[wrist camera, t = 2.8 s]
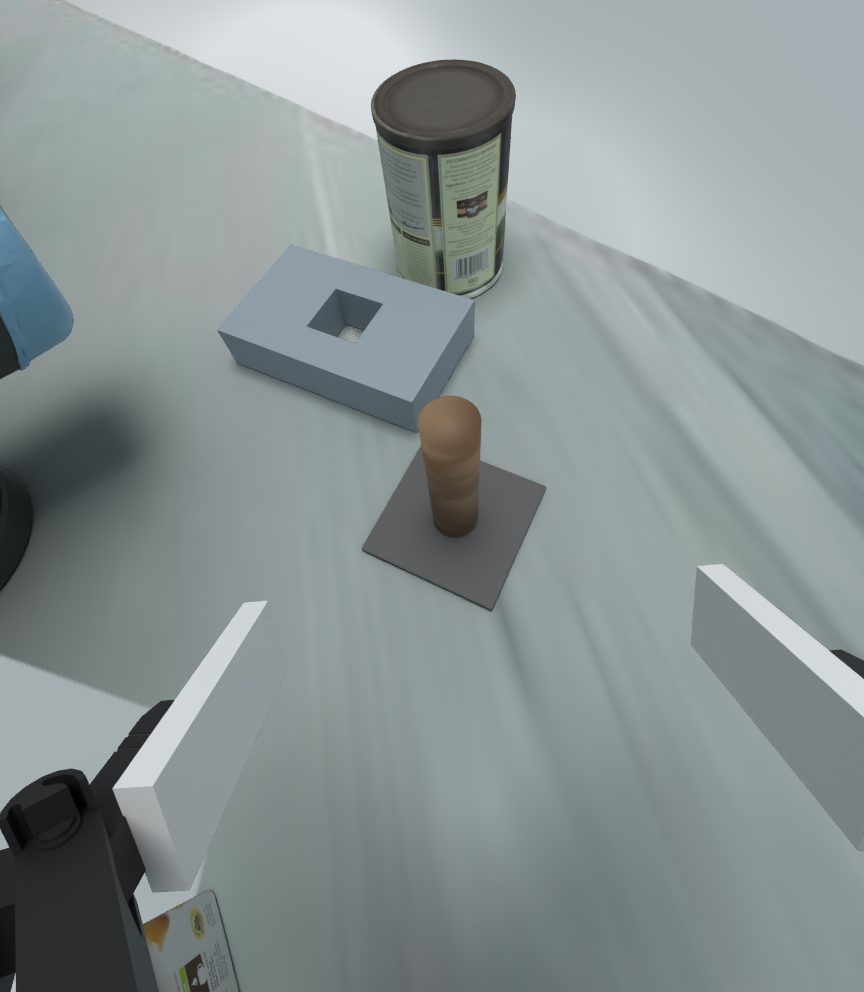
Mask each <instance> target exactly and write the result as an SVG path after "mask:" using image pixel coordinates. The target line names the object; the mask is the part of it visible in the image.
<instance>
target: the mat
mask: <svg viewBox="0 0 864 992" xmlns="http://www.w3.org/2000/svg"><path fill="white" fill-rule="evenodd" d="M545 489H546V486H544V485H541V484H538V483H536V482H533V481H531V480H528V479H526V478H523V477H521V476H518V475H515V474H513V473H510V472H508V471H505V470H503V469H500V468H497V467H495V466H492V465H490V464H487V463H485V462H482V461H480V471H479V498H478V520H477V524H476V526H475V528H474V529H473V530H472V531H471V532H470V533H469V534H467V535H466V536H463V537H459V538H451V537H448V536H445V535H443V534H442V533H440V532H439V531H438V529H437V528H436V526H435V524H434V520H433V514H432V508H431V502H430V496H429V490H428V483H427V477H426V471H425V465H424V459H423V453H422V447H420V449H419V450H418V452H417V454H416V455H415V457H414V459H413V461H412V462H411V464H410V466H409V468H408V469H407V471H406V473H405V474H404V476H403V478H402V480H401V481H400V483H399V485H398V487H397V488H396V490H395V492H394V493H393V495H392V497H391V499H390V500H389V502H388V504H387V506H386V507H385V509H384V511H383V512H382V514H381V516H380V518H379V519H378V521H377V523H376V524H375V526H374V528H373V530H372V531H371V533H370V535H369V537H368V538H367V540H366V542H365V543H364V545H363V547H362V551H364V552H367V553H369V554H371V555H373V556H375V557H377V558H379V559H382V560H384V561H386V562H388V563H390V564H392V565H394V566H397V567H399V568H401V569H403V570H405V571H407V572H409V573H411V574H414V575H416V576H418V577H420V578H422V579H424V580H426V581H429V582H431V583H433V584H435V585H437V586H439V587H441V588H443V589H446V590H448V591H450V592H452V593H454V594H456V595H458V596H461V597H463V598H465V599H467V600H469V601H471V602H473V603H476V604H478V605H480V606H482V607H484V608H486V609H488V610H490V611H492V609H493V606H494V604H495V602H496V600H497V597H498V595H499V593H500V591H501V588H502V586H503V584H504V582H505V579H506V577H507V575H508V573H509V570H510V568H511V566H512V564H513V561H514V559H515V557H516V555H517V552H518V550H519V548H520V546H521V543H522V541H523V539H524V537H525V534H526V532H527V530H528V528H529V525H530V523H531V521H532V519H533V516H534V514H535V512H536V510H537V507H538V505H539V503H540V501H541V498H542V496H543V494H544V492H545Z"/></svg>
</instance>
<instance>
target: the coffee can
mask: <svg viewBox="0 0 864 992" xmlns="http://www.w3.org/2000/svg"><path fill="white" fill-rule="evenodd" d="M515 98H516V94H515V89H514V86H513V84H512V82H511V81H510V79H509V78H508V77H507V76H506V75H505V74H503V73H502V72H501V71H499V70H497V69H495V68H493V67H491V66H489V65H485V64H483V63H479V62H474V61H467V60H438V61H432V62H426V63H422V64H418V65H415V66H412V67H409V68H407V69H404V70H402V71H400V72H398V73H396V74H394V75H393V76H391V77H390V78H388V79H387V80H385V81H384V82H383V83H382V84H381V85H380V86H379V87H378V89H377V90H376V91H375V93H374V95H373V98H372V101H371V111H372V116H373V120H374V123H375V125H376V130H377V137H378V144H379V150H380V156H381V163H382V169H383V175H384V181H385V188H386V194H387V201H388V207H389V213H390V219H391V226H392V232H393V238H394V245H395V251H396V258H397V271H398V275H399V277H400V278H403V279H406V280H409V281H413V282H416V283H419V284H423V285H426V286H429V287H432V288H436V289H439V290H442V291H446V292H449V293H452V294H455V295H459V296H462V297H465V298H469V299H470V298H473V297H476V296H478V295H480V294H482V293H483V292H485V291H486V290H488V289H489V288H490V287H491V286H493V285H494V284H495V282H496V281H497V279H498V278H499V276H500V274H501V272H502V269H503V246H504V230H505V215H506V199H507V183H508V171H509V154H510V139H511V123H512V114H513V111H514V107H515Z"/></svg>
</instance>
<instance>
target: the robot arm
mask: <svg viewBox="0 0 864 992" xmlns="http://www.w3.org/2000/svg"><path fill="white" fill-rule="evenodd" d="M73 322H74V320H73V314H72V310H71V308H70V306H69V304H68V303H67V301H66V300H65V298H64V297H63V295H62V294H61V292H60V291H59V289H58V288H57V286H56V285H55V283H54V282H53V280H52V279H51V278H50V276H49V275H48V273H47V272H46V270H45V269H44V267H43V266H42V265H41V263H40V262H39V260H38V259H37V257H36V256H35V254H34V253H33V252H32V250H31V249H30V247H29V246H28V244H27V243H26V241H25V240H24V239H23V237H22V236H21V234H20V233H19V231H18V230H17V229H16V227H15V226H14V224H13V223H12V221H11V220H10V219H9V217H8V216H7V214H6V213H5V212H4V210H3V209H2V207H1V206H0V379H1V378H3V377H5V376H7V375H9V374H11V373H13V372H15V371H17V370H18V369H19V370H24V369H26V367H28V366H29V364H30V361H31V360H33V359H35V358H36V357H38V356H39V355H41V354H43V353H44V352H46V351H48V350H49V349H51V348H53V347H54V346H56V345H58V344H59V343H61V342H63V341H64V340H65V339H66V338H67V337H68V336H69V334H70V333H71V330H72V326H73ZM31 521H32V508H31V502H30V498H29V495H28V492H27V490H26V488H25V487H24V485H23V484H22V482H21V481H20V480H19V479H18V478H17V477H16V476H15V475H14V474H13V473H11V472H10V471H8V470H6V469H5V468H3V467H1V466H0V588H1V587H2V586H3V585H4V583H5V582H6V581H7V579H8V578H9V577H10V575H11V574H12V572H13V571H14V569H15V567H16V565H17V564H18V562H19V560H20V558H21V556H22V554H23V551H24V549H25V547H26V544H27V541H28V537H29V534H30V529H31ZM691 645H692V647H693V648H694V649H695V650H696V652H697V653H698V654H699V655H700V656H701V658H702V659H703V660H704V661H705V663H706V664H707V665H708V666H709V668H710V669H711V670H712V671H713V672H714V674H715V675H716V676H717V677H718V679H719V680H720V681H721V682H722V684H723V685H724V686H725V687H726V689H727V690H728V691H729V692H730V693H731V695H732V696H733V697H734V698H735V700H736V701H737V702H738V703H739V705H740V706H741V707H742V708H743V710H744V711H745V712H746V713H747V714H748V716H749V717H750V718H751V719H752V721H753V722H754V723H755V724H756V726H757V727H758V728H759V729H760V730H761V732H762V733H763V734H764V735H765V737H766V738H767V739H768V740H769V742H770V743H771V744H772V745H773V747H774V748H775V749H776V750H777V751H778V753H779V754H780V755H781V756H782V758H783V759H784V760H785V761H786V763H787V764H788V765H789V766H790V768H791V769H792V770H793V771H794V772H795V774H796V775H797V776H798V777H799V779H800V780H801V781H802V782H803V784H804V785H805V786H806V787H807V789H808V790H809V791H810V792H811V793H812V795H813V796H814V797H815V798H816V800H817V801H818V802H819V803H820V805H821V806H822V807H823V808H824V809H825V811H826V812H827V813H828V814H829V816H830V817H831V818H832V819H833V821H834V822H835V823H836V824H837V826H838V827H839V828H840V829H841V830H842V832H843V833H844V834H845V835H846V837H847V838H848V839H849V840H850V842H851V843H852V844H853V845H854V847H855V848H856V849H857V850H858V851H864V661H863V660H861V659H859V658H857V657H855V656H853V655H851V654H849V653H847V652H845V651H843V650H827V649H826V648H825V647H824V646H822V645H821V644H820V643H819V642H818V641H816V640H815V639H814V638H813V637H811V636H810V635H809V634H808V633H807V632H805V631H804V630H803V629H802V628H800V627H799V626H798V625H797V624H796V623H794V622H793V621H792V620H791V619H789V618H788V617H787V616H786V615H784V614H783V613H782V612H781V611H780V610H778V609H777V608H776V607H775V606H773V605H772V604H771V603H770V602H769V601H767V600H766V599H765V598H764V597H762V596H761V595H760V594H759V593H758V592H756V591H755V590H754V589H753V588H751V587H750V586H749V585H748V584H746V583H745V582H744V581H743V580H742V579H740V578H739V577H738V576H737V575H735V574H734V573H733V572H732V571H731V570H729V569H728V568H727V567H726V566H724V565H723V564H718V565H706V566H697V571H696V584H695V596H694V609H693V621H692V634H691ZM284 675H285V674H284V669H283V665H282V661H281V656H280V652H279V647H278V643H277V638H276V634H275V629H274V625H273V620H272V616H271V612H270V607H269V603H268V601H259V602H246V603H243V605H242V606H241V607H240V609H239V610H238V612H237V613H236V615H235V616H234V617H233V619H232V620H231V622H230V623H229V624H228V626H227V627H226V629H225V630H224V632H223V633H222V634H221V636H220V637H219V639H218V640H217V641H216V643H215V644H214V646H213V647H212V649H211V650H210V651H209V653H208V654H207V656H206V657H205V658H204V660H203V661H202V663H201V664H200V665H199V667H198V668H197V670H196V671H195V673H194V674H193V675H192V677H191V678H190V680H189V681H188V682H187V684H186V685H185V687H184V688H183V690H182V691H181V692H180V694H179V695H178V697H177V698H176V699H175V700H167V701H160V702H159V703H158V704H157V705H155V706H154V707H153V708H152V709H150V710H149V711H148V712H147V713H146V714H145V715H143V716H142V717H141V718H140V719H139V721H138V722H137V723H136V725H135V726H134V727H133V729H132V730H131V731H130V733H129V736H128V737H126V738H125V739H124V741H123V742H122V743H121V745H120V746H119V747H118V751H117V752H114V754H113V755H112V756H111V757H110V759H109V760H108V761H107V763H106V764H105V765H104V767H103V768H102V769H101V771H100V772H99V773H98V774H97V776H96V777H95V779H94V780H93V781H92V782H91V784H90V785H89V783H88V780H87V778H86V776H85V775H84V773H83V772H82V771H80V770H76V769H67V770H60V771H56V772H54V773H51V774H48V775H46V776H43V777H41V778H39V779H38V780H36V781H34V782H33V783H31V784H29V785H28V786H26V787H25V788H23V789H22V790H21V791H20V792H19V793H18V794H16V795H15V796H14V797H13V798H12V799H11V800H10V801H9V802H8V803H7V805H6V806H5V807H4V809H3V810H2V811H1V813H0V829H1V831H2V833H3V835H4V837H5V839H6V841H7V843H8V845H9V847H10V848H7V849H4V850H1V851H0V992H10V991H11V988H12V984H13V980H14V976H15V973H16V992H159V990H158V985H157V981H156V977H155V973H154V969H153V965H152V961H151V957H150V953H149V949H148V945H147V940H146V936H145V932H144V928H143V924H142V920H141V916H140V912H139V908H138V904H137V901H136V899H135V896H134V894H133V893H134V891H135V889H136V887H137V885H138V884H139V882H140V880H141V878H142V876H143V874H144V872H145V874H146V876H147V879H148V882H149V884H150V887H151V890H152V892H168V891H185V890H190V888H191V886H192V884H193V881H194V879H195V877H196V874H197V872H198V870H199V868H200V866H201V863H202V861H203V859H204V856H205V854H206V852H207V850H208V847H209V845H210V843H211V841H212V838H213V836H214V834H215V831H216V829H217V827H218V825H219V822H220V820H221V818H222V816H223V813H224V811H225V809H226V807H227V804H228V802H229V800H230V797H231V795H232V793H233V791H234V788H235V786H236V784H237V782H238V779H239V777H240V775H241V773H242V770H243V768H244V766H245V763H246V761H247V759H248V757H249V754H250V752H251V750H252V748H253V745H254V743H255V741H256V738H257V736H258V734H259V732H260V729H261V727H262V725H263V723H264V720H265V718H266V716H267V714H268V711H269V709H270V707H271V704H272V702H273V700H274V698H275V695H276V693H277V691H278V689H279V686H280V684H281V682H282V680H283V677H284Z"/></svg>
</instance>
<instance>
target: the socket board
mask: <svg viewBox="0 0 864 992" xmlns="http://www.w3.org/2000/svg"><path fill="white" fill-rule="evenodd" d="M474 303H475V300H472V299H469V298H465V297H462V296H459V295H455V294H452V293H449V292H446V291H442V290H439V289H436V288H432V287H429V286H426V285H423V284H419V283H416V282H413V281H409V280H406V279H403V278H400V277H396V276H393V275H390V274H386V273H383V272H380V271H377V270H373V269H370V268H367V267H363V266H360V265H357V264H353V263H350V262H347V261H344V260H340V259H337V258H334V257H330V256H327V255H324V254H321V253H317V252H314V251H311V250H307V249H304V248H301V247H298V246H294V245H290V246H289V247H288V248H287V250H286V251H285V252H284V253H283V254H282V255H281V256H280V258H279V259H278V260H277V261H276V262H275V263H274V265H273V266H272V267H271V268H270V269H269V270H268V271H267V273H266V274H265V275H264V276H263V277H262V278H261V280H260V281H259V282H258V283H257V284H256V285H255V286H254V288H253V289H252V290H251V291H250V292H249V293H248V295H247V296H246V297H245V298H244V299H243V300H242V301H241V303H240V304H239V305H238V306H237V307H236V308H235V310H234V311H233V312H232V313H231V314H230V315H229V316H228V318H227V319H226V320H225V321H224V322H223V323H222V325H221V326H220V327H219V328H218V329H217V331H218V332H219V334H220V336H221V337H222V339H223V341H224V342H225V344H226V345H227V347H228V349H229V350H230V352H231V354H232V355H233V357H234V358H235V360H236V362H237V363H239V364H241V365H244V366H246V367H249V368H251V369H254V370H257V371H259V372H262V373H264V374H267V375H269V376H272V377H275V378H277V379H280V380H282V381H285V382H288V383H290V384H293V385H295V386H298V387H300V388H303V389H306V390H308V391H311V392H313V393H316V394H318V395H321V396H324V397H326V398H329V399H331V400H334V401H337V402H339V403H342V404H344V405H347V406H349V407H352V408H355V409H357V410H360V411H362V412H365V413H367V414H370V415H373V416H375V417H378V418H380V419H383V420H385V421H388V422H391V423H393V424H396V425H398V426H401V427H404V428H406V429H409V430H411V431H414V432H416V433H417V432H418V430H419V428H418V418H419V415H420V413H421V411H422V410H423V408H424V407H425V406H426V405H427V404H428V403H430V402H431V401H433V400H435V399H437V398H438V396H439V395H440V393H441V391H442V390H443V388H444V386H445V384H446V383H447V381H448V379H449V378H450V376H451V374H452V373H453V371H454V369H455V368H456V366H457V364H458V362H459V361H460V359H461V357H462V356H463V354H464V352H465V351H466V349H467V347H468V346H469V344H470V342H471V340H472V339H473V337H474ZM346 324H347V325H350V326H353V327H356V328H359V329H362V330H364V332H363V333H362V335H361V336H360V337H359V339H358V340H357V342H356V343H352V342H349V341H346V340H343V339H340V338H338V337H337V336H338V335H339V333H340V332H341V330H342V329H343V328H344V326H345V325H346Z"/></svg>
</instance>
